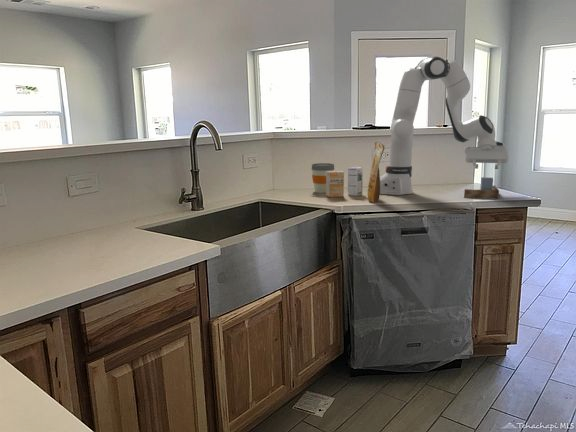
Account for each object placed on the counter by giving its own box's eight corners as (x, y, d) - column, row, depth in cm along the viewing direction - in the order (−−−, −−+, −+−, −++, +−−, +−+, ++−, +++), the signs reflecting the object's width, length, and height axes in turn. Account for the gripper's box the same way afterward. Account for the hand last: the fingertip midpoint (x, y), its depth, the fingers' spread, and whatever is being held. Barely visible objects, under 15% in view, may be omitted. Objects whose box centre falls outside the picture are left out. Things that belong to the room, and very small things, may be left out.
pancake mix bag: (380, 196, 233) (381, 141, 227) (383, 203, 214) (384, 143, 208) (366, 196, 234) (367, 141, 228) (368, 203, 215) (369, 143, 209)
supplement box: (329, 197, 232) (329, 172, 229) (325, 196, 236) (325, 171, 233) (344, 196, 234) (344, 171, 231) (340, 195, 238) (340, 170, 236)
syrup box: (357, 196, 236) (357, 168, 233) (347, 195, 239) (347, 167, 236) (362, 194, 240) (362, 167, 237) (352, 193, 244) (353, 166, 241)
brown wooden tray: (464, 197, 226) (464, 189, 225) (462, 192, 242) (463, 184, 241) (498, 198, 222) (499, 190, 221) (494, 193, 237) (495, 185, 236)
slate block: (480, 196, 226) (482, 178, 224) (479, 195, 231) (481, 177, 229) (491, 197, 225) (493, 178, 223) (490, 195, 229) (492, 177, 228)
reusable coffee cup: (338, 192, 249) (338, 164, 245) (317, 193, 244) (317, 166, 241) (328, 189, 260) (328, 162, 257) (308, 190, 255) (307, 163, 252)
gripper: (465, 143, 238) (465, 163, 231) (508, 143, 232) (509, 164, 225) (464, 151, 243) (464, 171, 236) (506, 151, 237) (507, 172, 230)
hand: (486, 168), depth 231 cm, fingers open, 8 cm apart
